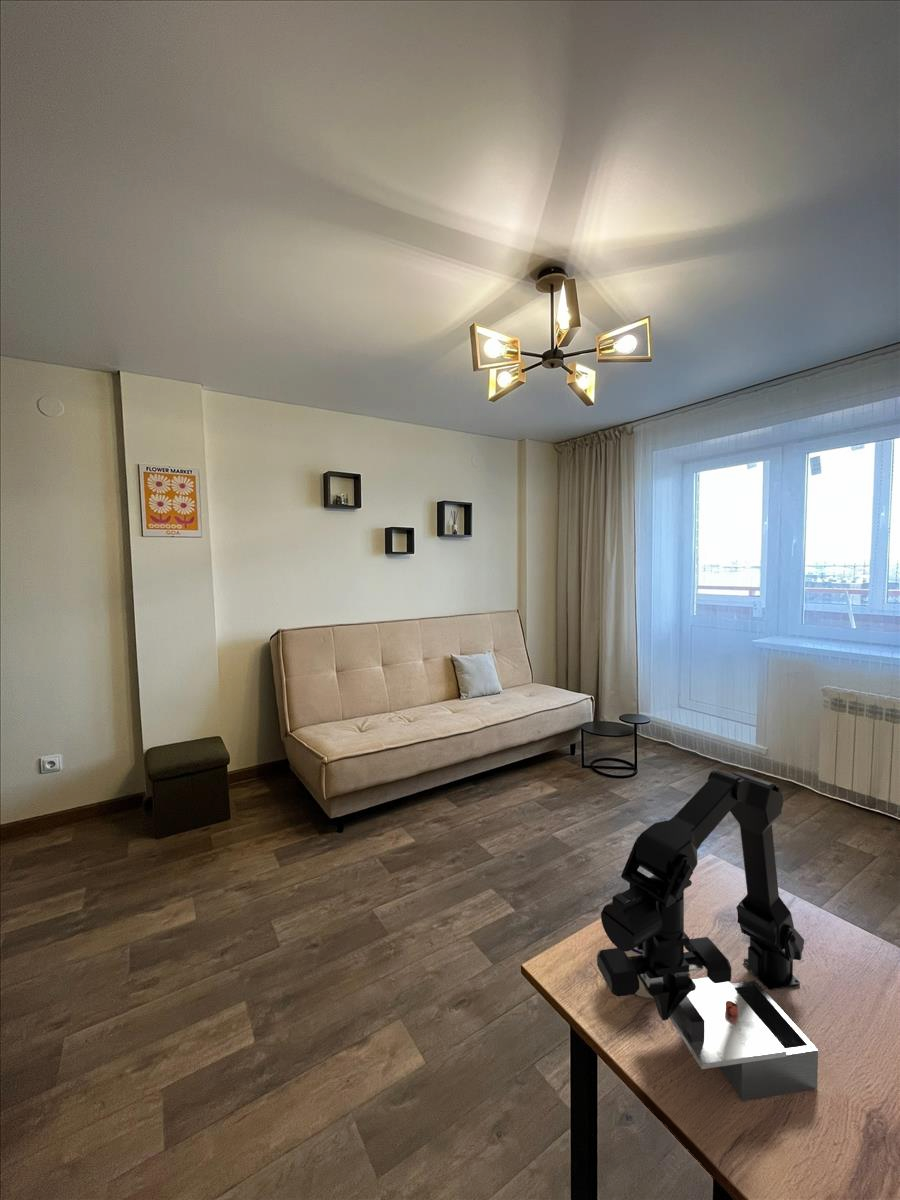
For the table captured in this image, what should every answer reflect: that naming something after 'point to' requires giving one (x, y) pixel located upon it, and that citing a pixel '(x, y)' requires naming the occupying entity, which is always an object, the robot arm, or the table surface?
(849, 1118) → the table surface
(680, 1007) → the box lid
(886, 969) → the table surface
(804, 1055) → the metal box
